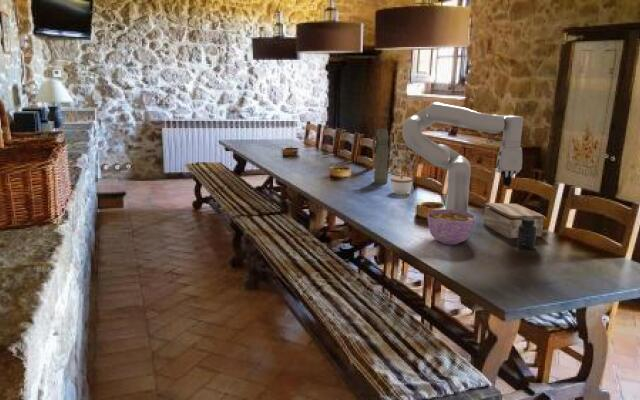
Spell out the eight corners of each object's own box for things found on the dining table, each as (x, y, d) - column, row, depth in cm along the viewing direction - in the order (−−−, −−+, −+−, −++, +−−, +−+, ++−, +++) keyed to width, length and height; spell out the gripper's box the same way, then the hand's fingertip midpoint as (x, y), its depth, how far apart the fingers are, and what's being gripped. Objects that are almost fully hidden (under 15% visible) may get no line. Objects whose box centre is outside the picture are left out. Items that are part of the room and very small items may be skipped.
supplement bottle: (519, 243, 211) (522, 215, 208) (536, 246, 207) (539, 218, 204) (514, 247, 206) (517, 219, 203) (531, 251, 202) (534, 222, 199)
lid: (509, 218, 216) (510, 215, 215) (485, 205, 237) (485, 203, 236) (543, 218, 218) (544, 215, 218) (516, 206, 239) (516, 203, 239)
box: (507, 238, 218) (509, 220, 216) (483, 223, 239) (484, 207, 237) (541, 236, 220) (543, 218, 218) (514, 222, 241) (516, 206, 239)
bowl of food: (438, 231, 227) (439, 206, 224) (481, 240, 215) (483, 214, 212) (416, 242, 212) (418, 216, 209) (461, 252, 200) (463, 224, 197)
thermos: (392, 183, 329) (393, 129, 321) (375, 184, 325) (377, 130, 316) (385, 180, 337) (387, 128, 329) (369, 181, 333) (371, 128, 324)
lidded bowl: (413, 195, 295) (414, 177, 292) (391, 195, 295) (392, 177, 292) (409, 191, 307) (410, 173, 304) (389, 190, 307) (389, 173, 304)
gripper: (499, 145, 215) (495, 187, 219) (531, 145, 217) (526, 186, 222) (490, 143, 222) (486, 183, 226) (521, 143, 224) (517, 183, 229)
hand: (506, 185), depth 224 cm, fingers closed
